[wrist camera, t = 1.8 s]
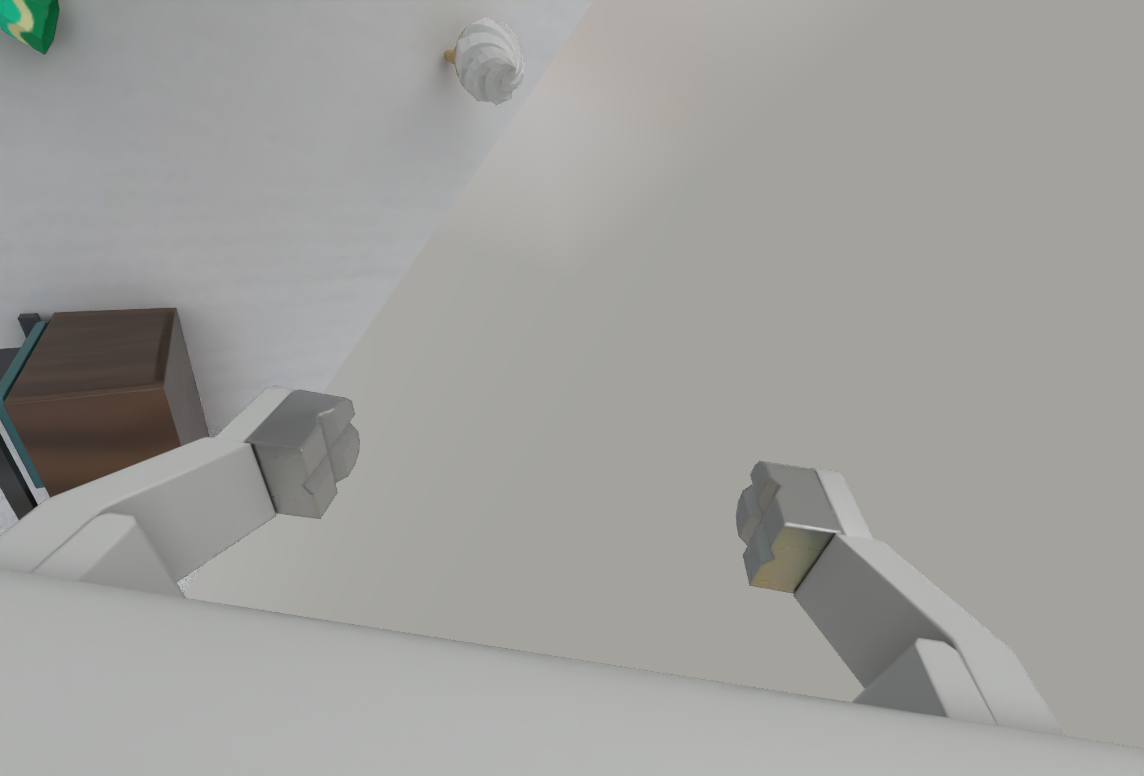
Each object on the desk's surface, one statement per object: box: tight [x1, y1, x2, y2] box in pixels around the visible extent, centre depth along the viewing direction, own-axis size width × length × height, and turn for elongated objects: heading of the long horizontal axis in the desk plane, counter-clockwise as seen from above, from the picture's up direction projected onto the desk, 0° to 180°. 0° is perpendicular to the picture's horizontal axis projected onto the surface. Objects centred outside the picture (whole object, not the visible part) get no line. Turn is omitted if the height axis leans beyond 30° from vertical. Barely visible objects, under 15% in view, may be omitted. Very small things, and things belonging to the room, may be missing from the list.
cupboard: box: [0, 308, 209, 520], centre depth 41 cm, size 16×10×14 cm, turn 169°
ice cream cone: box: [444, 18, 525, 105], centre depth 40 cm, size 6×6×15 cm
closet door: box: [0, 322, 48, 488], centre depth 37 cm, size 8×3×12 cm, turn 169°
